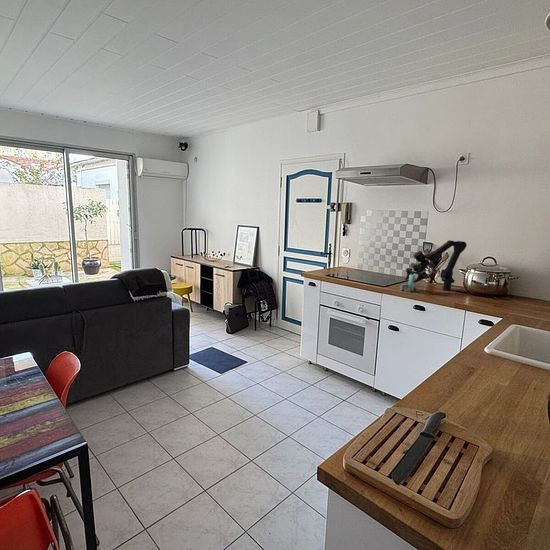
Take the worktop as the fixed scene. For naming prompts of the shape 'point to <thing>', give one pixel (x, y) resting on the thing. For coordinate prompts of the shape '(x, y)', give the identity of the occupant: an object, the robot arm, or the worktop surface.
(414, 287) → the block
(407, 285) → the backstop
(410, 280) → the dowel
